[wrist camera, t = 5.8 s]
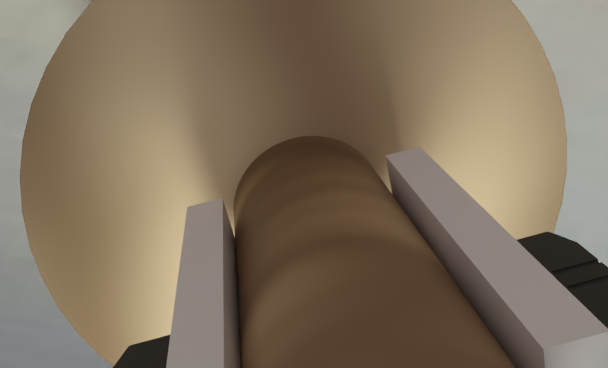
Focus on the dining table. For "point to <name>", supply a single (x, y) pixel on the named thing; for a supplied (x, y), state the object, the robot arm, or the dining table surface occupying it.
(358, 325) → the wooden peg stand
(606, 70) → the dining table surface
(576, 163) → the dining table surface
